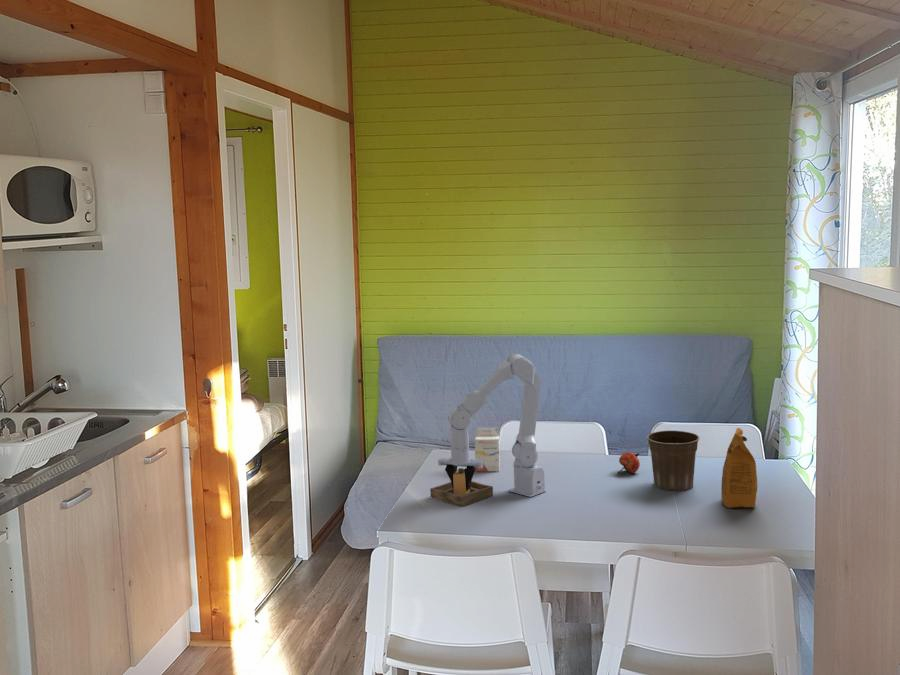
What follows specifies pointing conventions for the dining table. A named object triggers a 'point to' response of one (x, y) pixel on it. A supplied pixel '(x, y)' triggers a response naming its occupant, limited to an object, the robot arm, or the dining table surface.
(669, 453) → the plant pot
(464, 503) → the walled box
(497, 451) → the ink cartridge box
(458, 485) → the tan tall block
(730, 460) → the coffee package
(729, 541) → the dining table surface
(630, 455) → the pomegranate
